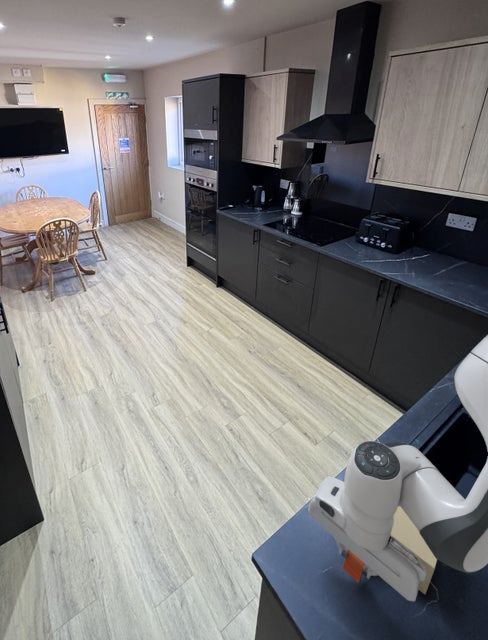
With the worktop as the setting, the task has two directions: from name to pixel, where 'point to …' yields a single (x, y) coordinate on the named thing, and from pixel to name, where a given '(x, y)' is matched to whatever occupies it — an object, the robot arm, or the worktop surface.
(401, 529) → the tan cardboard carton
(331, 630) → the worktop surface
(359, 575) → the orange stamp with handle
